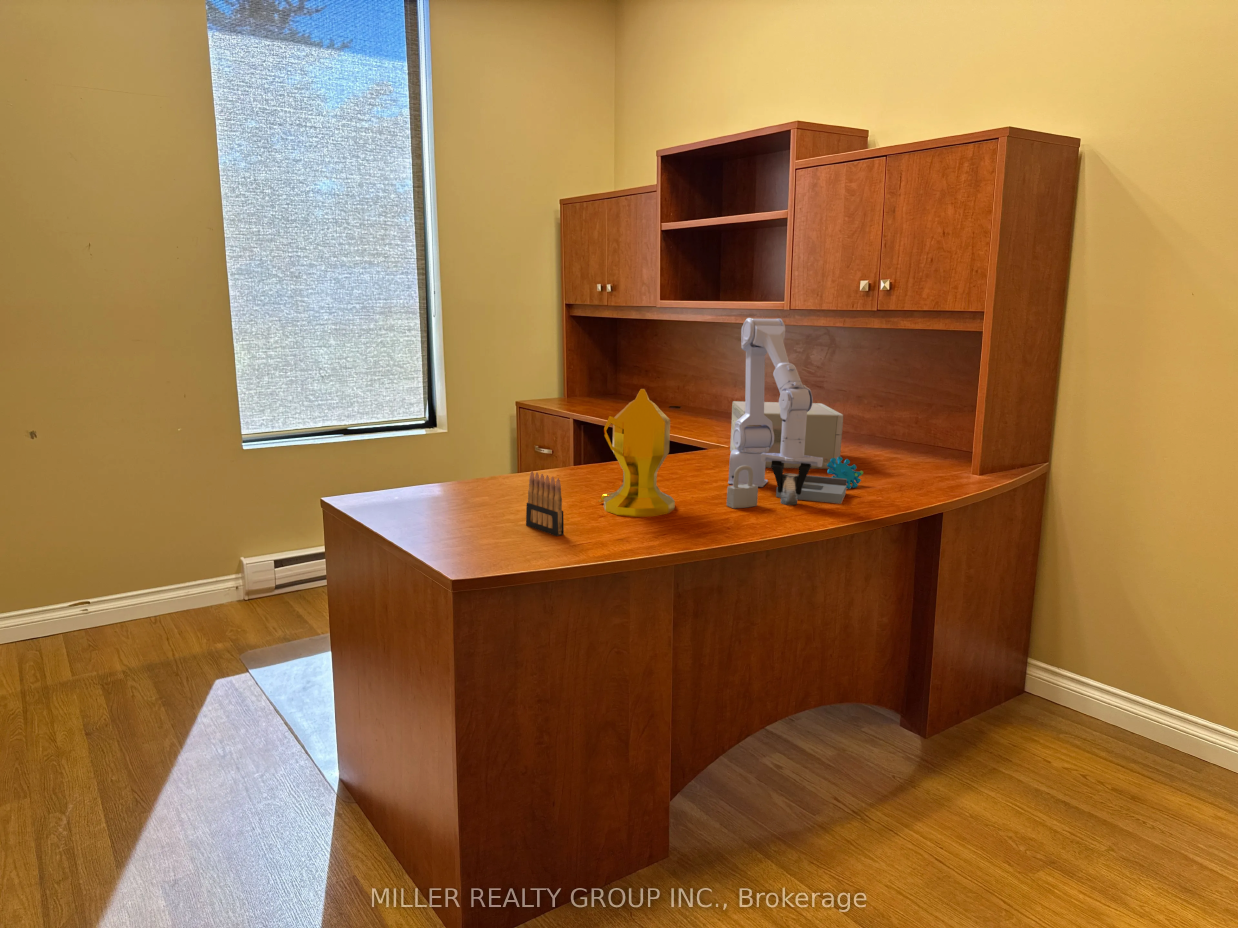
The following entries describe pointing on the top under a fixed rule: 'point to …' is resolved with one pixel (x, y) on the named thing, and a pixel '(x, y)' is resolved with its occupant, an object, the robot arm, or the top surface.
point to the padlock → (742, 491)
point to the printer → (819, 431)
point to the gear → (844, 471)
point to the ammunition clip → (545, 505)
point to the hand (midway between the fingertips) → (789, 492)
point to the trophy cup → (639, 459)
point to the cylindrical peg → (789, 489)
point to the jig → (822, 489)
